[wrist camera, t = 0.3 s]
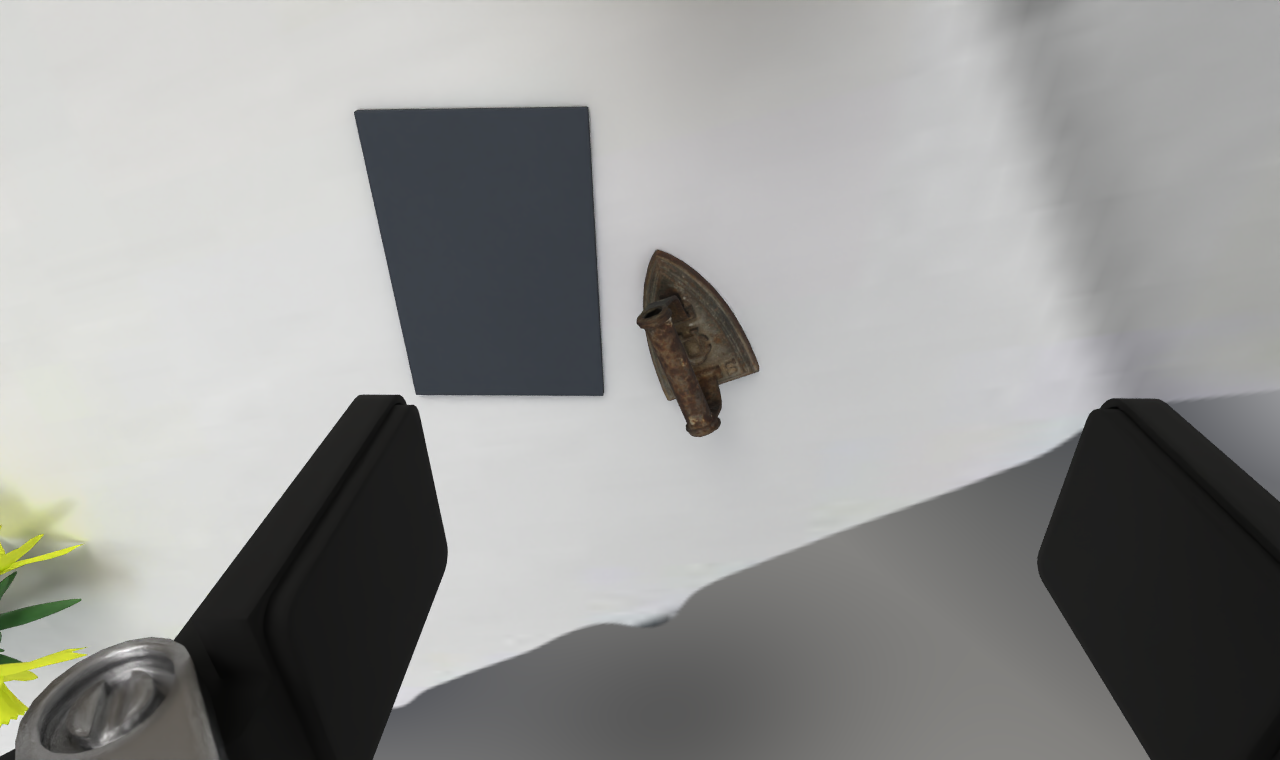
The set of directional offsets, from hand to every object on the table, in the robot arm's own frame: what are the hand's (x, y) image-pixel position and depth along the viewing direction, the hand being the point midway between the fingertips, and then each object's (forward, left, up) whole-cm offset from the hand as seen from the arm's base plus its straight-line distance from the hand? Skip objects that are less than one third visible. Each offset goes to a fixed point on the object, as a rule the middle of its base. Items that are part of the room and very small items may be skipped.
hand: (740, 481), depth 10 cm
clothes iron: (+15, 0, -36) cm, 39 cm away
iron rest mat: (+11, -13, -36) cm, 40 cm away
